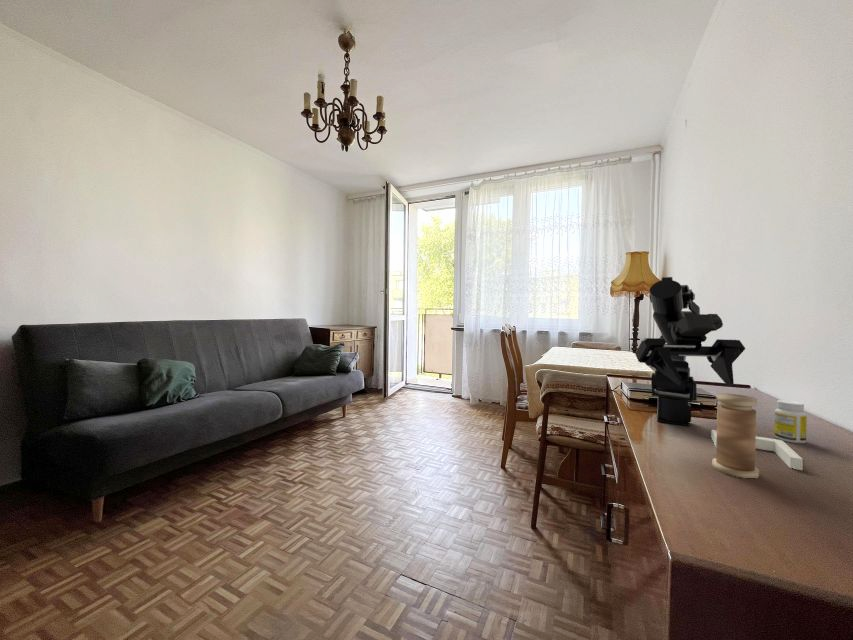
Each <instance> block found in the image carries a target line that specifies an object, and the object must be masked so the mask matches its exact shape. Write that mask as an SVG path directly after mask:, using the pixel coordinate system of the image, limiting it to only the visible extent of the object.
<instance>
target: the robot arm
mask: <svg viewBox="0 0 853 640" xmlns="http://www.w3.org/2000/svg"><path fill="white" fill-rule="evenodd" d="M695 299H696V293H694V291H693V289H692V288H691V289H690V287H689V285H688V284H681V283H679V282H678V281H675V280H673V276H666V277H661V280H659V281H656V282H655V283H654V284H652V285H651V287H649V300H650V301H649V302H650V303H651V305H652V310H653V314H652V318H653V320H654V321H655V324H656V326H657V328H658V330H659V332H660V334H661V335H660V337H659V338H658V337H644V338H643V339H642V340H641V342H640V344H639V345H638V347H637V349H636V350H635V357H636V359H637V361H638V362H639V363H640V364H641V363H645V365H646V366H651V368H654V369H655V371H654V372H652V373H651V397H657V413H656V421H657V422H661V423H667V424H674V425H681V426H690V423H691V422H692V406H691V404H690V403H689V402H693V401H697V400H698V395H697V394H698V393H697V392H698V388H697V382H696V381H695V378H694V376H691V367H689V362H688V361H686V359H687V357H703V358H704V357H706V359H707V361H708V362H709V363H711V365H710V368H711V369H712V370H713V371H714V372H715V373H716V374H717V376H718V377H719V379H721V380H722V382H723V383H725V384H726V385H727V387H732V386H733V385H734V373H733V372H734V371H733V363H734V362H735V361H736V360H737V359H738V358H739V357H740V355H741V354H742V353H744V352H745V350H746V347H745V346H744V344H743V343H742V341H741V340H739V339H723V338H722V339H721V338H720V339H716V340H715V342H714V343H713V344H711V345H710V346H707V345H705V346H702V345H703V344H702V343H703V342H704V343H705V342H706V340H707V339H708V337H707V336H706V335H708V334H709V333H711V332H716V331H718V330H719V329H721V328H723V325H724V324H723V320H722V318H721V317H720V316H719V314H718V313H707V314H704V313H703V314H702V313H701V310H700V306H699V305H697V304H696V302H695V301H694V300H695ZM683 309H685V310H684V311H683ZM686 309H688V311H686Z"/></svg>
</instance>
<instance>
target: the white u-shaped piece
mask: <svg viewBox="0 0 853 640" xmlns="http://www.w3.org/2000/svg"><path fill="white" fill-rule="evenodd" d="M710 435H711V438H712V439H711V441H712V440H713V441H712V443H713V442H714V443H713V444H714V447H715V448H716V441H717V429H711V434H710ZM756 449H757V450H764V451H769V452H774V453H775V454H776V455H777V456H778V457H779V458H780V460H782V461H783V462H784V464H785V465H787V467H788V468H789V469H792V468H793V470H797V471H803V469H804V467H803V466H804V465H803V461H804V460H803V457H801V456H800V455H799V454H798V453H797V452H795V450H793V449H792V448H791V447H790V446H789V445H788V444H787V443H785V441H784V440H780V439H778V438H776V439H775V438H771V437H770V438H769V437H763V436H757V435H756V442H755V450H756Z"/></svg>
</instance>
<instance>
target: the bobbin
mask: <svg viewBox="0 0 853 640" xmlns="http://www.w3.org/2000/svg"><path fill="white" fill-rule="evenodd" d="M716 401H717V402H719V403H720V404H717V405H716V408H717V409H716V430H717V441H716V447H715V449H716V451H715V452H716V453H715V457H714V458H712V460H711V461H712V462H711V463H712V464H711V465H712V468H713V469H714V470H716V471H718V472H720V473H723V474H725V475H728V474H729V476H731V475H732V477H735V476H736V478H739V477H742V478H741V479H746V478H756V479H758V478H759V477H760V469H759V468H758V467H756V448H755V442H756V436H757V434H756V433H757V432H756V430H757V429H756V428H757V410H756V409H755V408H754V409H753V407H757V406H758V398H755V397H753V396H749V395H745V394H744V395H743V394H738V393H737V394H736V393H723V392H722V393H717V394H716Z"/></svg>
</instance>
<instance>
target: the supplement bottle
mask: <svg viewBox="0 0 853 640" xmlns="http://www.w3.org/2000/svg"><path fill="white" fill-rule="evenodd" d="M776 406H777V407H778V408H776V409H775V410H774V437H775V438H776V439H777V440H782V441H783V442H788V443H793V444H794V443H795V444H805V443H806V442H807V423H808V422H807V420H808V418H807V414H806V413H805V412H804V410H805V404H804V403H803V402H800V401H796V400H787V399H778V400H777V404H776Z"/></svg>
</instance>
